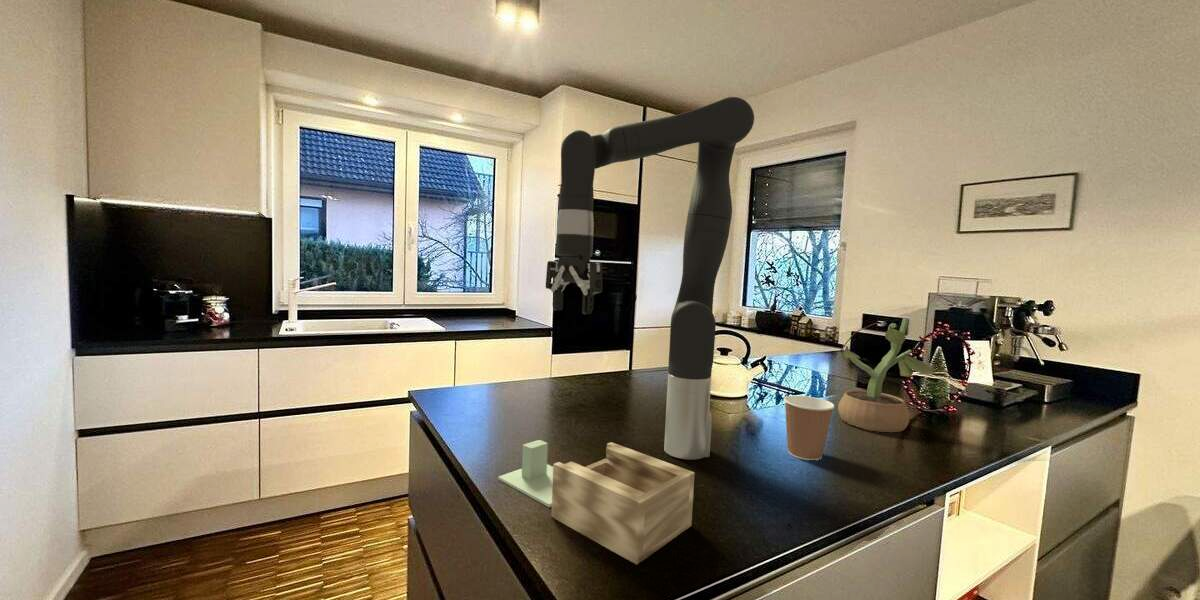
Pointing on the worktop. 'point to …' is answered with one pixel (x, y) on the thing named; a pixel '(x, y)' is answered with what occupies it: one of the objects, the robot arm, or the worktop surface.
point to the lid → (533, 473)
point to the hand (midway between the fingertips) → (571, 312)
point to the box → (624, 501)
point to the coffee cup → (807, 426)
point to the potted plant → (872, 404)
